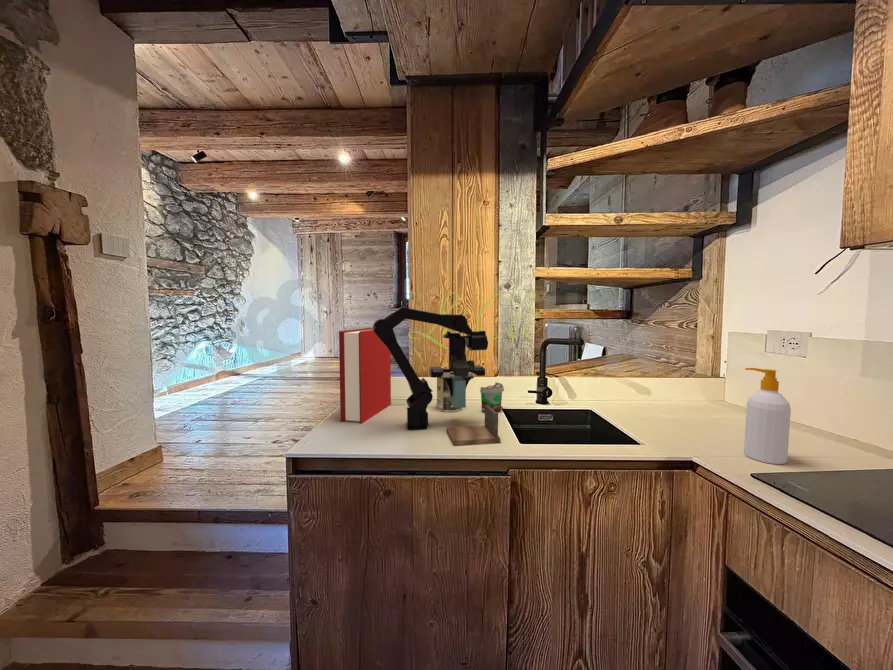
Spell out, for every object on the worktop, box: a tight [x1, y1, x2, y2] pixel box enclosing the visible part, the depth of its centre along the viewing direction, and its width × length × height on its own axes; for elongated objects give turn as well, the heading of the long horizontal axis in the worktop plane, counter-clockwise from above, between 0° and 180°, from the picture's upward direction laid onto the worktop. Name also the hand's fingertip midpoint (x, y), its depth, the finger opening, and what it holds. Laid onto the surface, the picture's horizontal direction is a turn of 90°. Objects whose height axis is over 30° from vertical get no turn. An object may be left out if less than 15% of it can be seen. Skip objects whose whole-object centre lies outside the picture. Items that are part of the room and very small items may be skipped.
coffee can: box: [436, 374, 463, 413], centre depth 142 cm, size 10×10×14 cm
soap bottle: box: [743, 367, 792, 465], centre depth 94 cm, size 9×9×24 cm
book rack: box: [446, 405, 501, 447], centre depth 110 cm, size 14×12×8 cm
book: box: [338, 327, 392, 424], centre depth 136 cm, size 27×8×32 cm, turn 166°
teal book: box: [449, 375, 467, 409], centre depth 123 cm, size 4×11×9 cm, turn 10°
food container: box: [479, 382, 505, 414], centre depth 139 cm, size 12×6×10 cm, turn 143°
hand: (457, 396), depth 123 cm, fingers closed on teal book, 3 cm apart
